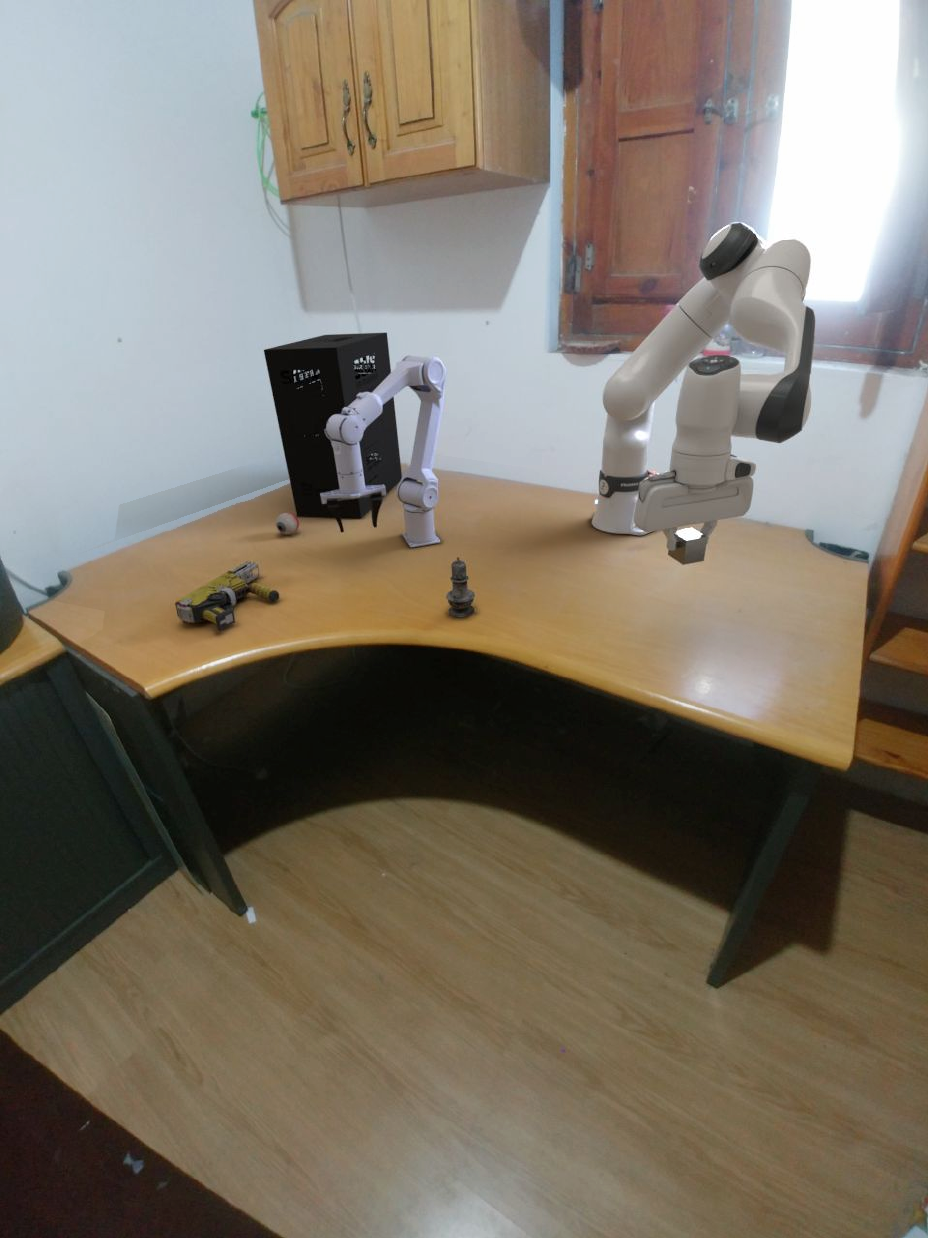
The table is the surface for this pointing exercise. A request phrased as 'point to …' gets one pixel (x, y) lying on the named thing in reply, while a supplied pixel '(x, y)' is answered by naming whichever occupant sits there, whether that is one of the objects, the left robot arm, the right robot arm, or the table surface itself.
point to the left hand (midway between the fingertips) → (358, 528)
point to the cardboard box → (319, 402)
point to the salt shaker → (460, 591)
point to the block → (689, 546)
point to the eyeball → (287, 523)
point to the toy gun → (222, 597)
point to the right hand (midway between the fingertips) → (687, 546)
